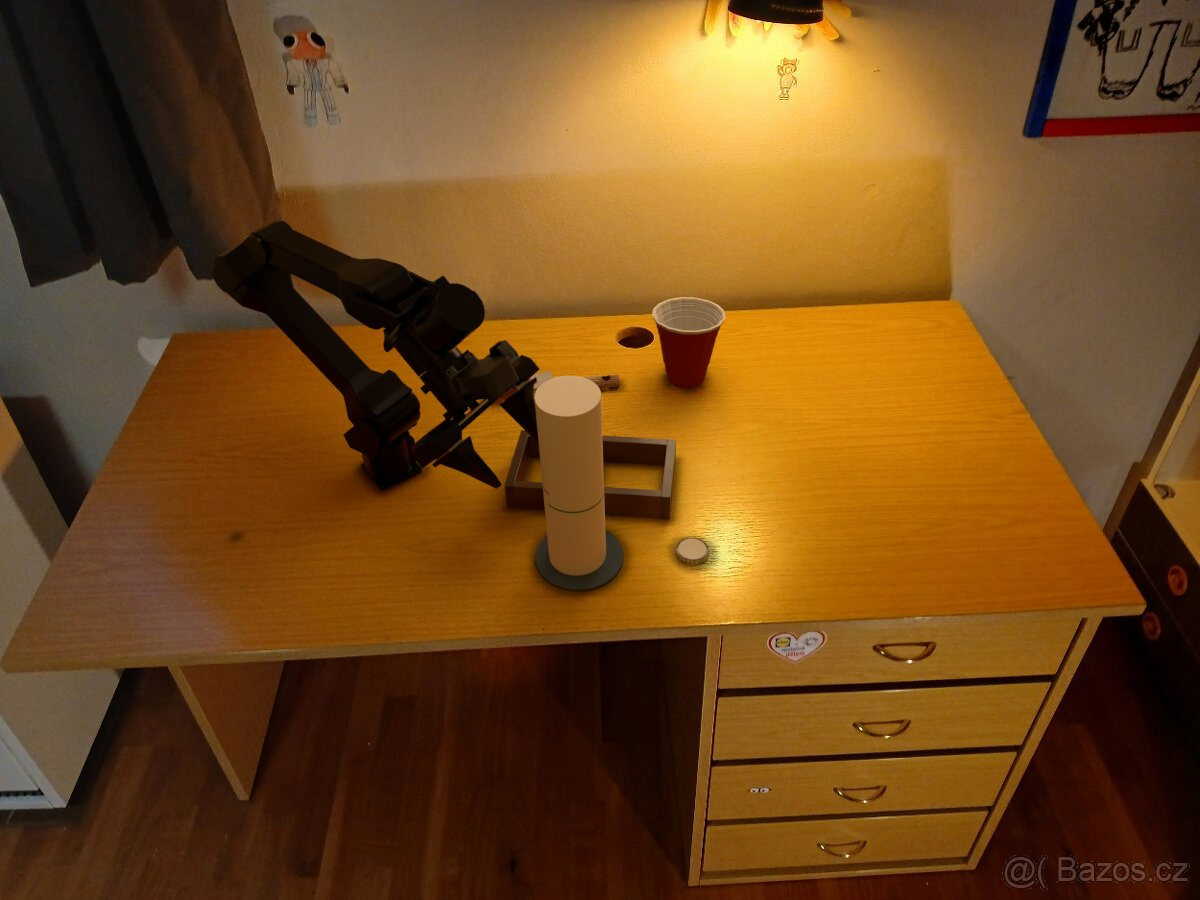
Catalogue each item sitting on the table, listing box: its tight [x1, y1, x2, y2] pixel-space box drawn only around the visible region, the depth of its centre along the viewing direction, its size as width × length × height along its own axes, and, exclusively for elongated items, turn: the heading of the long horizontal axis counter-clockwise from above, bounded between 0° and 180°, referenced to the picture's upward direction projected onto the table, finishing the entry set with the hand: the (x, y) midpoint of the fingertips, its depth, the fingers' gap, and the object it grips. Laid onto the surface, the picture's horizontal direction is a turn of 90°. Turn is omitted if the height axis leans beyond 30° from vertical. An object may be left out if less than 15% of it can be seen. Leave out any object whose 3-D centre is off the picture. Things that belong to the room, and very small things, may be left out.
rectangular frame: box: [504, 429, 677, 520], centre depth 123 cm, size 22×11×4 cm, turn 83°
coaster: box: [535, 529, 625, 593], centre depth 114 cm, size 11×11×1 cm
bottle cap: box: [675, 537, 709, 565], centre depth 114 cm, size 4×4×1 cm
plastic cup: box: [652, 296, 726, 390], centre depth 138 cm, size 11×11×12 cm
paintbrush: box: [529, 370, 621, 400], centre depth 139 cm, size 4×3×20 cm
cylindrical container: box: [533, 375, 606, 576], centre depth 106 cm, size 7×7×25 cm
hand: (522, 464), depth 109 cm, fingers open, 9 cm apart
